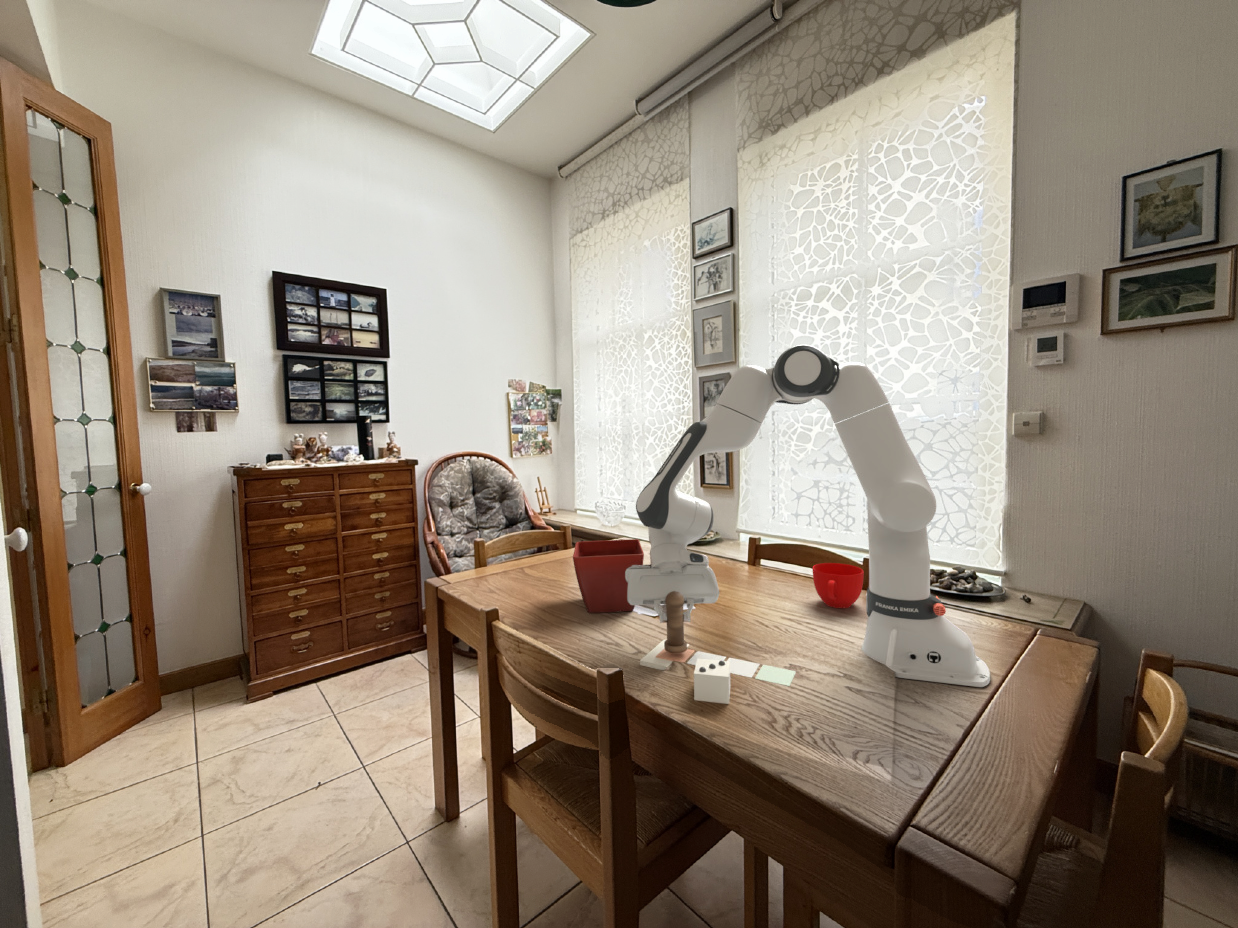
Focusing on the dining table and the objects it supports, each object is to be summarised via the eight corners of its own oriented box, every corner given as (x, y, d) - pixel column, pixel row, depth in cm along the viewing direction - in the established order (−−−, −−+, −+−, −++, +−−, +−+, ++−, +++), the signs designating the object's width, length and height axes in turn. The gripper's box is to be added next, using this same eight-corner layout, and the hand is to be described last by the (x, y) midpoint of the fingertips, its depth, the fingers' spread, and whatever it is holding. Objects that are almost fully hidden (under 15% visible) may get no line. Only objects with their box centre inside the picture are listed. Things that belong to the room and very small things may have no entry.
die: (730, 692, 91) (730, 658, 91) (729, 710, 86) (728, 673, 85) (697, 689, 93) (697, 655, 93) (694, 706, 87) (693, 669, 87)
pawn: (691, 647, 106) (690, 591, 105) (677, 655, 102) (676, 596, 102) (673, 641, 109) (672, 586, 108) (659, 648, 106) (658, 592, 105)
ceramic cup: (804, 611, 132) (804, 575, 131) (818, 594, 146) (818, 560, 145) (857, 620, 124) (857, 581, 124) (866, 601, 138) (866, 566, 138)
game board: (810, 673, 98) (810, 667, 98) (799, 702, 87) (799, 695, 87) (664, 643, 114) (664, 638, 114) (640, 664, 103) (640, 659, 103)
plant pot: (574, 618, 131) (572, 556, 130) (577, 595, 150) (576, 541, 149) (645, 615, 132) (644, 553, 131) (640, 593, 151) (639, 538, 150)
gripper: (624, 558, 112) (626, 616, 102) (714, 555, 112) (724, 613, 102) (624, 572, 116) (626, 628, 107) (711, 569, 116) (720, 626, 107)
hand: (675, 621), depth 105 cm, fingers closed on pawn, 4 cm apart
